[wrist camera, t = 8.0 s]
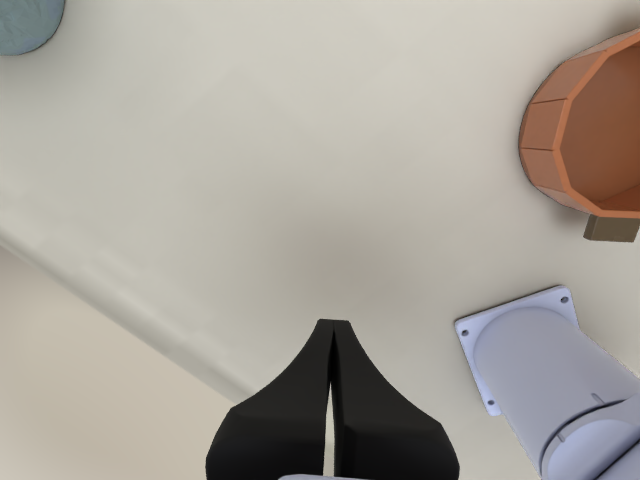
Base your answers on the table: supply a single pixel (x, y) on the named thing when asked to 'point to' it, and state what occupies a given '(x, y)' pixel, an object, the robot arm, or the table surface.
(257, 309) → the table surface
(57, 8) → the grey cylinder
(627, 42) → the pan
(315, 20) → the table surface
